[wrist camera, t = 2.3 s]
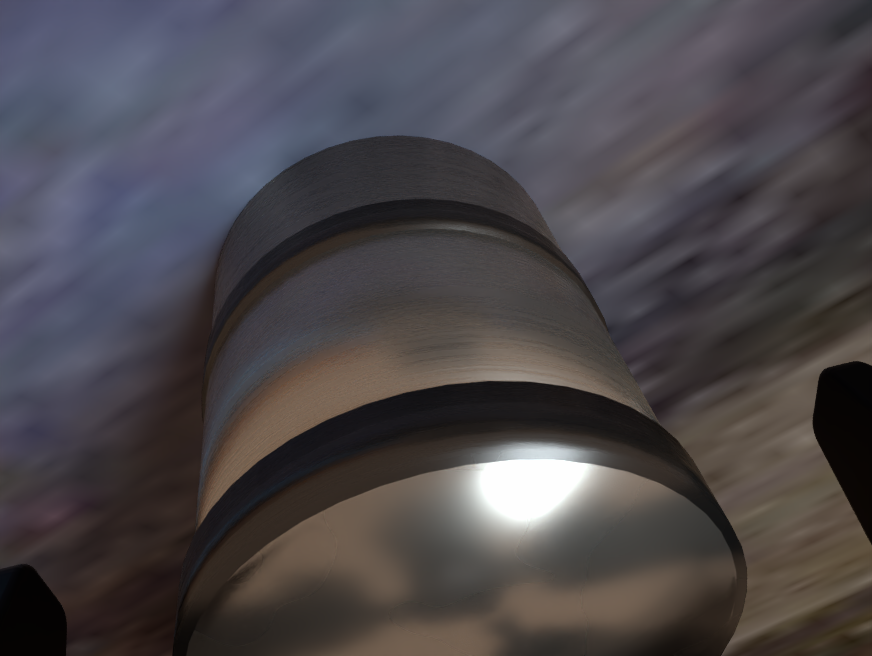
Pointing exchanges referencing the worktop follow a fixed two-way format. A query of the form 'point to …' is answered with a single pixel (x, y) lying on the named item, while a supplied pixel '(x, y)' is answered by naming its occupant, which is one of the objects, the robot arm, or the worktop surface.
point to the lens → (433, 436)
